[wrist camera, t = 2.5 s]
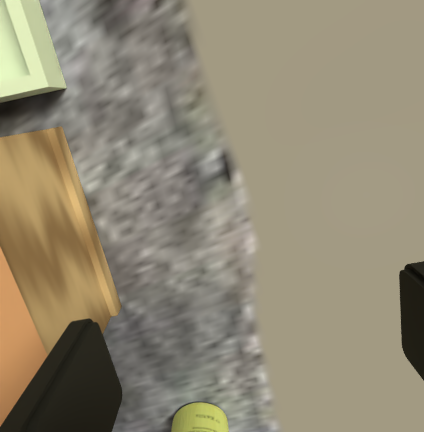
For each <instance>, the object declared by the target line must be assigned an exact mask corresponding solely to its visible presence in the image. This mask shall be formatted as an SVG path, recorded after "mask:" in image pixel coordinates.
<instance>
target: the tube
mask: <svg viewBox="0 0 424 432" xmlns="http://www.w3.org/2000/svg"><path fill="white" fill-rule="evenodd" d="M171 432H229V431H228V422H227V418H226V415H225V414H224V412H223V411H222V410H221V409H220V408H218V407H217V406H214V405H212V404H208V403H202V402H198V403H192V404H189V405H186V406H184V407H182V408H181V409H180V410H179V411H178V412H177V413H176V414H175V416H174V419H173V423H172V430H171Z"/></svg>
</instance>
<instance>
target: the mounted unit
mask: <svg viewBox="0 0 424 432" xmlns="http://www.w3.org/2000/svg"><path fill="white" fill-rule="evenodd" d="M120 308H121V304H120V301H119V298H118V294H117V291H116V288H115V285H114V282H113V279H112V276H111V273H110V270H109V267H108V264H107V261H106V258H105V255H104V252H103V249H102V246H101V243H100V240H99V237H98V234H97V231H96V228H95V225H94V222H93V219H92V216H91V213H90V210H89V207H88V204H87V201H86V198H85V195H84V192H83V189H82V186H81V183H80V180H79V177H78V174H77V171H76V168H75V165H74V162H73V159H72V156H71V153H70V150H69V147H68V144H67V141H66V138H65V135H64V132H63V128H62V127H56V128H51V129H46V130H41V131H35V132H29V133H23V134H18V135H12V136H6V137H0V426H1V425H2V423H3V422H4V420H5V419H6V417H7V416H8V414H9V413H10V411H11V410H12V408H13V407H14V405H15V404H16V402H17V401H18V399H19V398H20V396H21V395H22V393H23V392H24V390H25V389H26V387H27V386H28V384H29V383H30V381H31V380H32V379H33V377H34V376H35V374H36V373H37V371H38V370H39V368H40V367H41V365H42V364H43V362H44V361H45V359H46V358H47V356H48V355H49V353H50V352H51V350H52V349H53V347H54V346H55V344H56V343H57V341H58V340H59V338H60V337H61V335H62V334H63V332H64V331H65V329H66V328H67V326H68V325H69V323H70V322H72V321H76V320H82V319H88V318H90V319H92V321H93V322H97V323H98V324H99V326H100V329H101V332H102V334H103V332H104V330H105V328H106V326H107V324H108V322H109V320H110V318H111V316H117V315H118V313H119V311H120Z"/></svg>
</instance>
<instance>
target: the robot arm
mask: <svg viewBox="0 0 424 432" xmlns="http://www.w3.org/2000/svg"><path fill="white" fill-rule="evenodd" d="M399 279H400V305H401V334H402V348H403V351H404V354H405V356H406V357H407V359H408V360H409V361H410V363H411V364H412V366H413V367H414V368H415V369H416V371H417V372H418V374H419V375H420V376H421V377H422V379H423V380H424V261H423V262H418V263H412V264H407V265H406V266H405V269H404V270H401V271H400V275H399ZM121 401H122V388H121V385H120V382H119V379H118V377H117V374H116V371H115V368H114V365H113V363H112V360H111V357H110V354H109V351H108V349H107V346H106V343H105V340H104V337H103V334H102V332H101V329H100V326H99V324H98V323H97V322H93V321H92V319H90V318H88V319H82V320H76V321H72V322H70V323H69V325H68V326H67V328H66V329H65V331H64V332H63V334H62V335H61V337H60V338H59V340H58V341H57V343H56V344H55V346H54V347H53V349H52V350H51V352H50V353H49V355H48V356H47V358H46V359H45V361H44V362H43V364H42V365H41V367H40V368H39V370H38V371H37V373H36V374H35V376H34V377H33V379H32V380H31V381H30V383H29V384H28V386H27V387H26V389H25V390H24V392H23V393H22V395H21V396H20V398H19V399H18V401H17V402H16V404H15V405H14V407H13V408H12V410H11V411H10V413H9V414H8V416H7V417H6V419H5V420H4V422H3V423H2V425H1V426H0V432H112V429H113V426H114V423H115V420H116V416H117V413H118V410H119V407H120V404H121Z"/></svg>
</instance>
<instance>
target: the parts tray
mask: <svg viewBox="0 0 424 432" xmlns="http://www.w3.org/2000/svg"><path fill="white" fill-rule="evenodd" d="M65 88H67V87H66V84H65V81H64V78H63V75H62V72H61V68H60V65H59V62H58V59H57V56H56V53H55V49H54V46H53V43H52V40H51V37H50V34H49V31H48V27H47V24H46V21H45V18H44V15H43V12H42V8H41V5H40V2H39V0H0V103H2V102H6V101H11V100H15V99H20V98H24V97H29V96H33V95H38V94H42V93H47V92H52V91H56V90H61V89H65Z"/></svg>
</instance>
